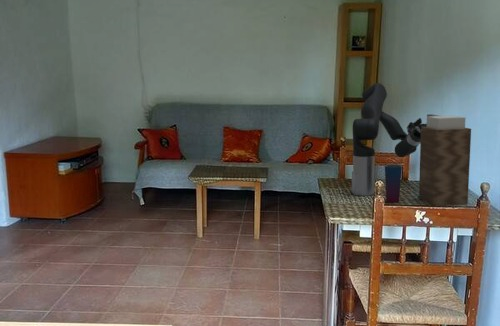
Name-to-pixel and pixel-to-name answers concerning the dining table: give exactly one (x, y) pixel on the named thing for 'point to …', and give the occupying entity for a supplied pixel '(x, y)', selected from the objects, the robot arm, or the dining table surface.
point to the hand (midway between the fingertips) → (430, 119)
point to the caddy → (445, 122)
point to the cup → (393, 182)
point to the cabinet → (444, 166)
